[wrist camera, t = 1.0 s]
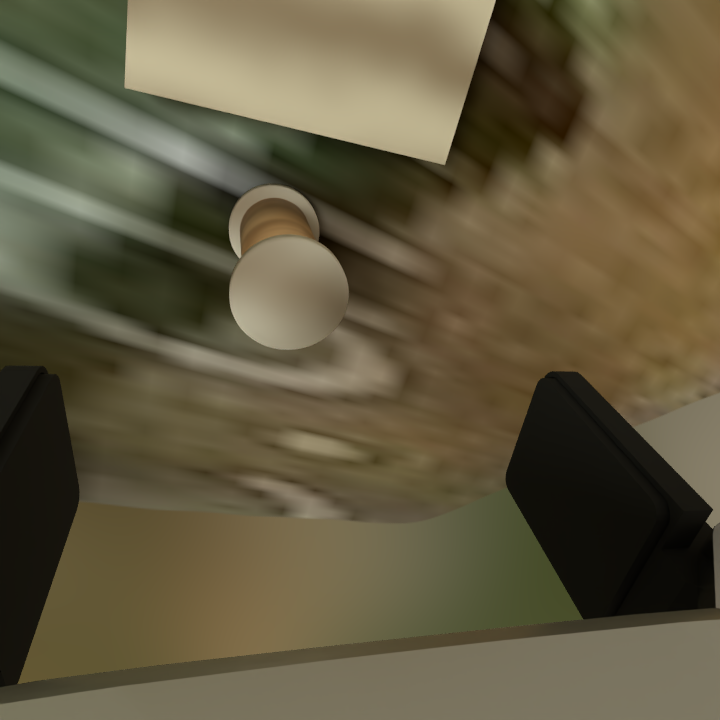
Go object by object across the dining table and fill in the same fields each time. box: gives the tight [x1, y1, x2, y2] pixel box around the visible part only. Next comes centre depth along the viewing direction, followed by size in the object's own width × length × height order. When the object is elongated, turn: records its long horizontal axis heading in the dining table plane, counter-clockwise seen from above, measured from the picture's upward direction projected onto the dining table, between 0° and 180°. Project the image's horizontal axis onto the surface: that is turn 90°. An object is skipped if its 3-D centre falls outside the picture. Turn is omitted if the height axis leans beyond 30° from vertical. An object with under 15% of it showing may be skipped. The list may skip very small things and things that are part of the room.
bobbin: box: [229, 183, 349, 350], centre depth 28 cm, size 5×5×10 cm
